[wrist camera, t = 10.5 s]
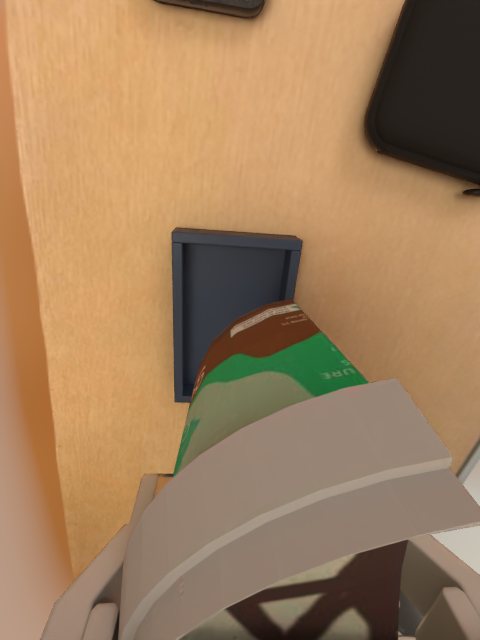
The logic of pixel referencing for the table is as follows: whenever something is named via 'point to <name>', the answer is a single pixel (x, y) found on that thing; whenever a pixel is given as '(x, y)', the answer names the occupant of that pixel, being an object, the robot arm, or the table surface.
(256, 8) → the phone
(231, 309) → the tray
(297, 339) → the food container
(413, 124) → the carrying case
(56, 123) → the table surface
